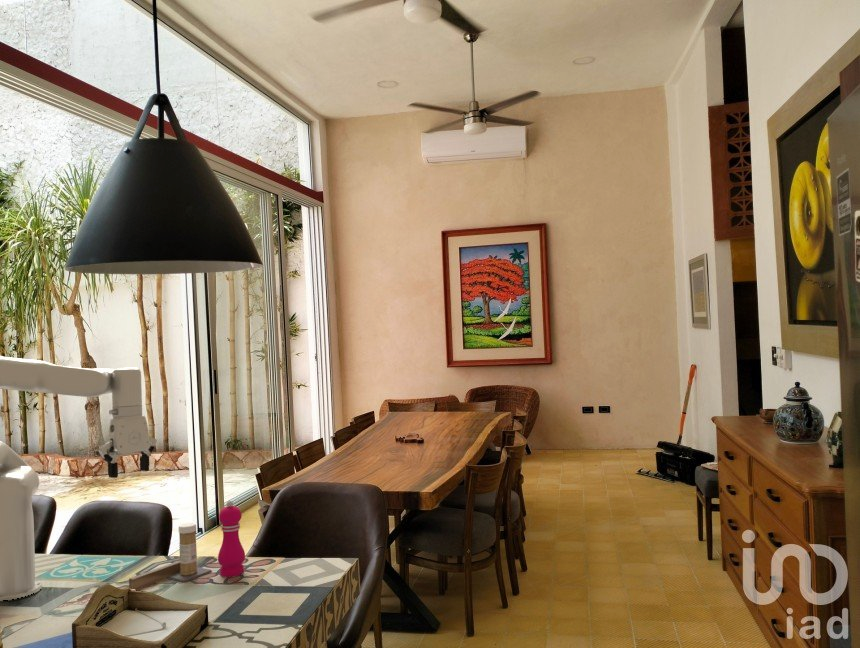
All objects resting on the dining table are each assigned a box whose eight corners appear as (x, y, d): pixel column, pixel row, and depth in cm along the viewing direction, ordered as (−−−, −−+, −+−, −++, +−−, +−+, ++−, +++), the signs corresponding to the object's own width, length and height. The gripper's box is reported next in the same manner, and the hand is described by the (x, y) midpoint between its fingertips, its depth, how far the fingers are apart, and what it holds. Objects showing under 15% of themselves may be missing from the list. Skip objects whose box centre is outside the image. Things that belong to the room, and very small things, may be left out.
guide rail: (129, 590, 179) (128, 578, 179) (183, 569, 194) (182, 559, 194) (133, 591, 178) (132, 579, 178) (186, 570, 193) (186, 560, 193)
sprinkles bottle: (190, 569, 192) (189, 521, 192) (200, 572, 190) (199, 523, 190) (176, 574, 188) (174, 525, 189) (186, 577, 186) (184, 527, 186)
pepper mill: (229, 579, 184) (226, 505, 184) (212, 575, 188) (210, 502, 189) (251, 572, 190) (248, 499, 190) (234, 567, 194) (232, 496, 194)
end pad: (167, 578, 187) (167, 576, 187) (194, 568, 195) (194, 566, 195) (184, 582, 183) (184, 580, 183) (211, 571, 191) (211, 569, 191)
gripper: (107, 416, 181) (108, 481, 181) (162, 409, 196) (164, 469, 196) (90, 415, 185) (91, 479, 185) (146, 408, 200) (147, 467, 199)
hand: (129, 473), depth 190 cm, fingers open, 9 cm apart
